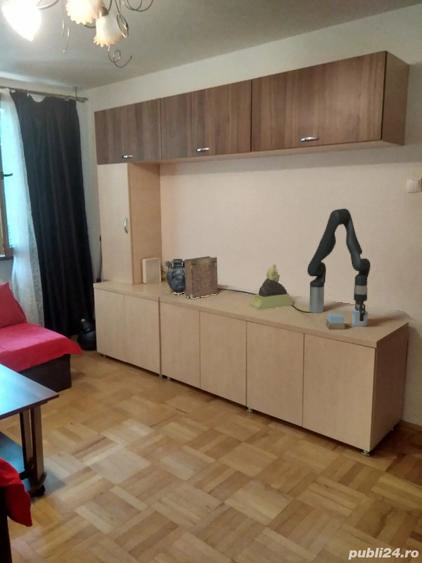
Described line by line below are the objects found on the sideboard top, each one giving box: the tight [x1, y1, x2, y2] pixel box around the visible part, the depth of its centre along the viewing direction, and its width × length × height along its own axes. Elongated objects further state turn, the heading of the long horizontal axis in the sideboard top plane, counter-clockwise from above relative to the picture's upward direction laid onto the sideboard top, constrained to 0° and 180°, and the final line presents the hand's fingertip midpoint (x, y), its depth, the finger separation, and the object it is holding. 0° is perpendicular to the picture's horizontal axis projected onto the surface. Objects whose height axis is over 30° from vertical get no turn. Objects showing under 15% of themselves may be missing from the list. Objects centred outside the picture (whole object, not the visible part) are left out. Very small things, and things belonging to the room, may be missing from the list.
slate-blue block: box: [326, 312, 345, 323], centre depth 269 cm, size 8×8×4 cm
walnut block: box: [325, 318, 346, 331], centre depth 270 cm, size 9×9×4 cm
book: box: [184, 255, 219, 298], centre depth 357 cm, size 25×9×30 cm, turn 131°
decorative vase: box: [165, 258, 187, 293], centre depth 369 cm, size 21×19×28 cm
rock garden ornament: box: [249, 264, 294, 311], centre depth 322 cm, size 28×13×30 cm, turn 113°
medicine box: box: [351, 310, 369, 327], centre depth 272 cm, size 8×4×9 cm, turn 92°
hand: (359, 319), depth 272 cm, fingers open, 8 cm apart
